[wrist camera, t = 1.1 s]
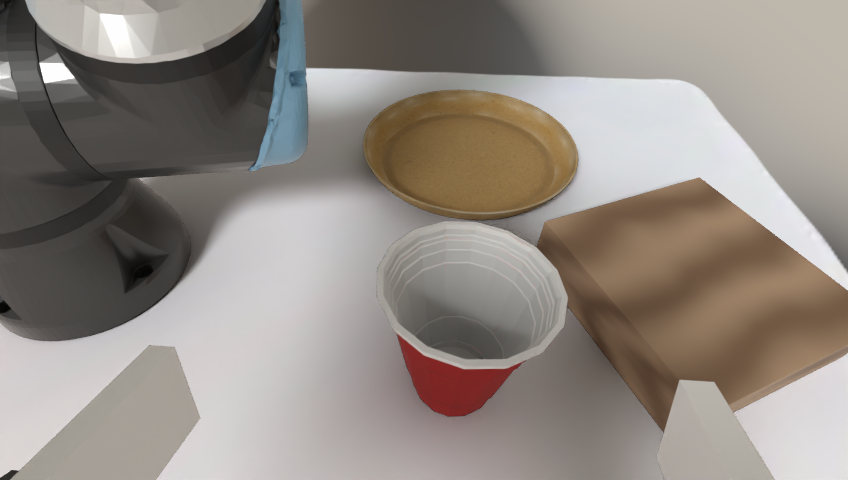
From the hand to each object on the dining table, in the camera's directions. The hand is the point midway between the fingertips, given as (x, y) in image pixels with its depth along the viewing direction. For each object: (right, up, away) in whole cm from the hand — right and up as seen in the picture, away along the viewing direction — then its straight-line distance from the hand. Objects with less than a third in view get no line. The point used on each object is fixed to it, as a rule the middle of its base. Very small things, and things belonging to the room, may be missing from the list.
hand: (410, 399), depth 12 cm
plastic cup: (+3, -6, +22) cm, 23 cm away
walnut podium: (+22, -1, +27) cm, 35 cm away
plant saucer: (+5, +13, +41) cm, 43 cm away
